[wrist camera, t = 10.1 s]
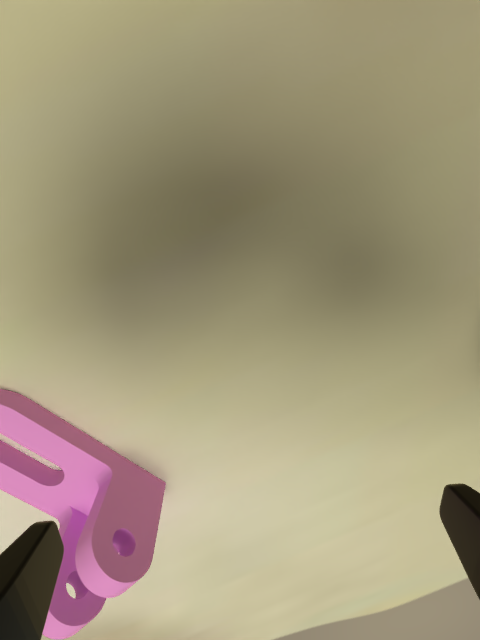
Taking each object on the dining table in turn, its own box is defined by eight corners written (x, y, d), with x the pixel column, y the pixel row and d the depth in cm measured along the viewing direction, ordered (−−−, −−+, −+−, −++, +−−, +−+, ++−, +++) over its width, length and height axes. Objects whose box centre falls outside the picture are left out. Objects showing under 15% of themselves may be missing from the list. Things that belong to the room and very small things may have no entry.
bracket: (166, 481, 23) (146, 595, 17) (116, 527, 24) (80, 650, 18) (-15, 370, 19) (-132, 461, 13) (-63, 431, 21) (-191, 542, 14)
